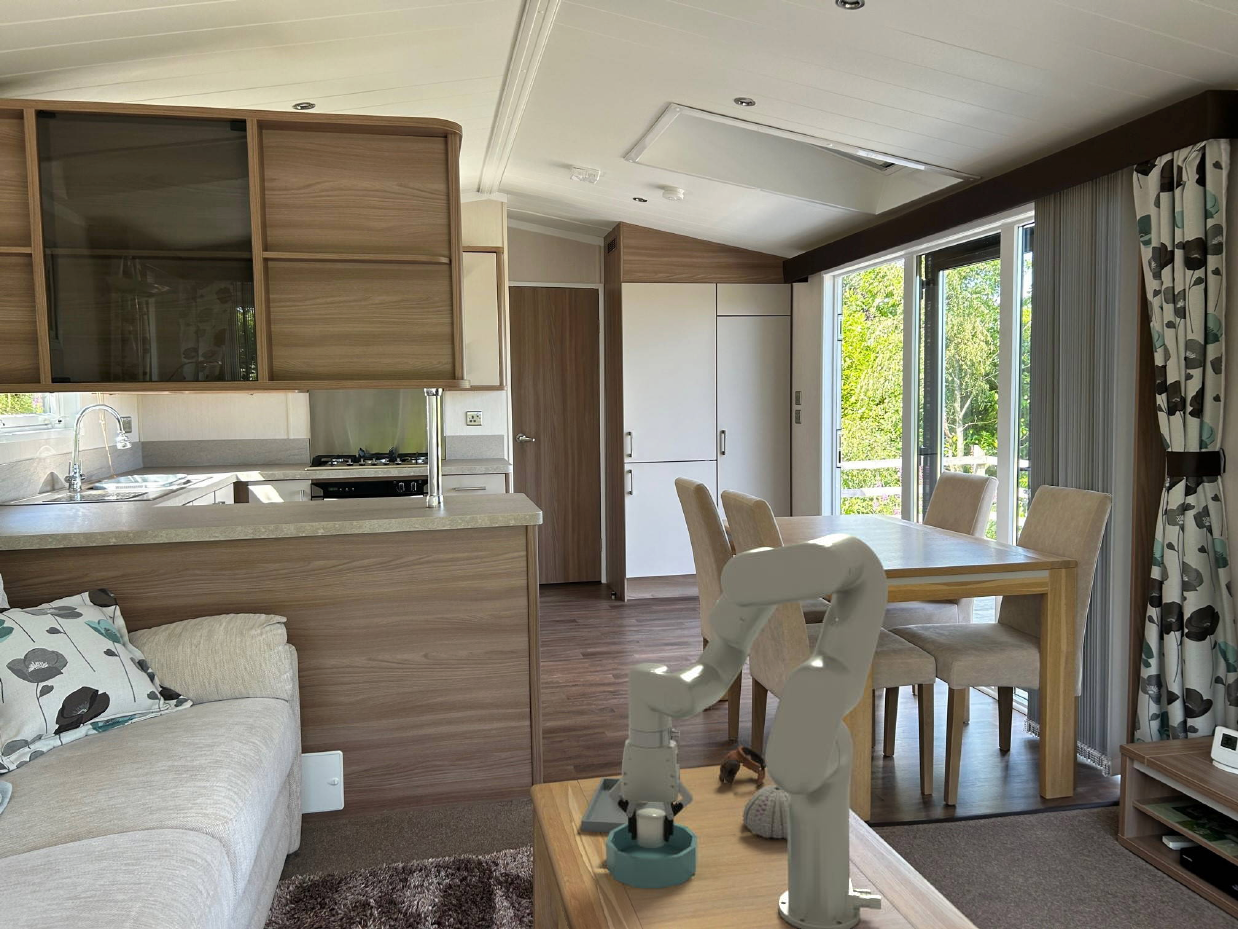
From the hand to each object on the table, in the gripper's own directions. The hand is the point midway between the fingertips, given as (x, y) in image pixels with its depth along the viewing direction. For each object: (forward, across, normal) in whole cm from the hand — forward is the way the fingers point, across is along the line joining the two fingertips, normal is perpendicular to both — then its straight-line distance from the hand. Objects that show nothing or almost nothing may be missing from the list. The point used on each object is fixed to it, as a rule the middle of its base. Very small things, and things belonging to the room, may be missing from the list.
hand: (651, 836), depth 158 cm
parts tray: (+5, +7, -22) cm, 24 cm away
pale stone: (+1, 0, 0) cm, 1 cm away
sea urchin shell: (+5, -22, -18) cm, 29 cm away
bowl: (+5, 0, 0) cm, 5 cm away
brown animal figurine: (+6, -14, -41) cm, 43 cm away
